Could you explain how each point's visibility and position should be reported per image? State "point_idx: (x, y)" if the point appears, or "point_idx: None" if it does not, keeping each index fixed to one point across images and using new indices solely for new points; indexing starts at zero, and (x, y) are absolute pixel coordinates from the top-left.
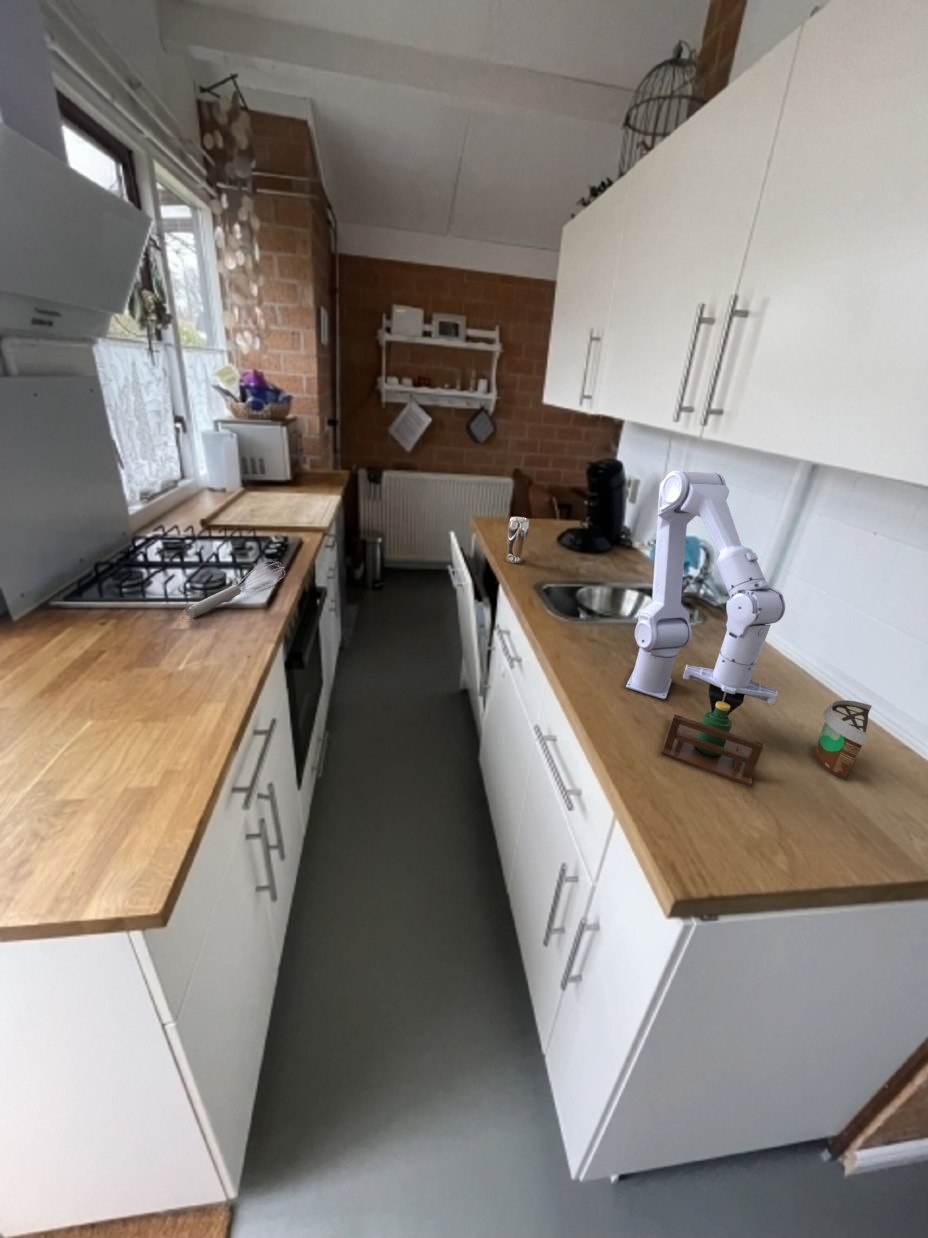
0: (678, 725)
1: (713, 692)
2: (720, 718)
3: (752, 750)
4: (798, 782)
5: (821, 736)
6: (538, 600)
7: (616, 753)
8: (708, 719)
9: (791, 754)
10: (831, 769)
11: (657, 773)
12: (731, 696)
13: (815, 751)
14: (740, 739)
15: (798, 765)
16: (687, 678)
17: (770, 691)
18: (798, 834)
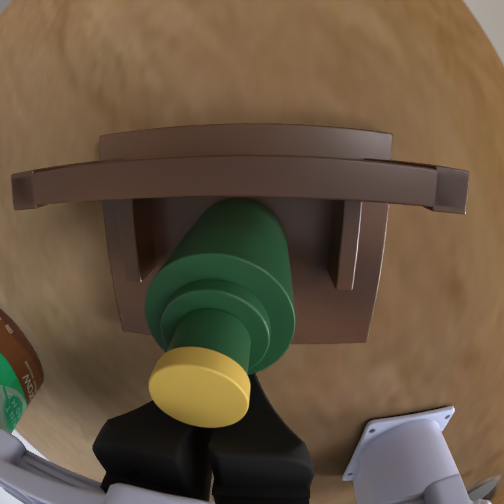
0: (418, 164)
1: (281, 474)
2: (203, 308)
3: (56, 167)
4: (28, 245)
5: (11, 388)
6: (500, 484)
7: (485, 84)
8: (272, 279)
9: (62, 348)
10: (3, 320)
11: (377, 33)
12: (159, 470)
13: (33, 366)
14: (84, 165)
15: (42, 314)
16: (441, 485)
17: (8, 488)
18: (33, 47)
